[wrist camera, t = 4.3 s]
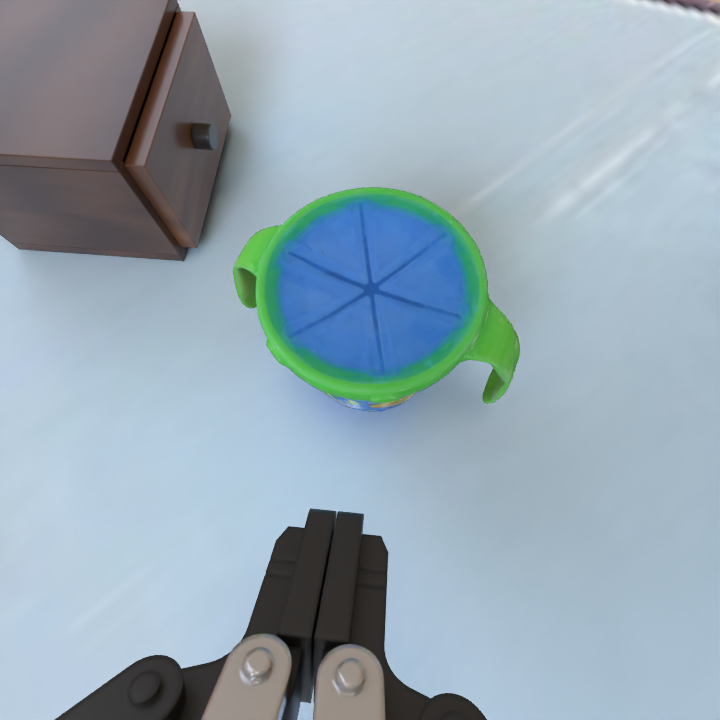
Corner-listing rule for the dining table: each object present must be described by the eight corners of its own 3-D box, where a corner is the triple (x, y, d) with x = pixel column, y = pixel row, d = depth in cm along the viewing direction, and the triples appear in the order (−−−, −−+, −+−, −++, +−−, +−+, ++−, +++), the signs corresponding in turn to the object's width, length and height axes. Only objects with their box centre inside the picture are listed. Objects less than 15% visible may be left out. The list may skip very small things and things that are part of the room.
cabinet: (221, 118, 37) (173, -11, 28) (183, 261, 33) (111, 161, 24) (75, 111, 38) (-18, -18, 29) (18, 249, 33) (-114, 148, 24)
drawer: (246, 116, 36) (213, 12, 29) (213, 249, 32) (165, 167, 25) (93, 108, 37) (23, 5, 29) (42, 237, 33) (-54, 154, 25)
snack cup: (514, 347, 30) (581, 263, 20) (443, 491, 27) (481, 474, 17) (313, 248, 33) (288, 135, 23) (229, 369, 30) (160, 295, 20)
